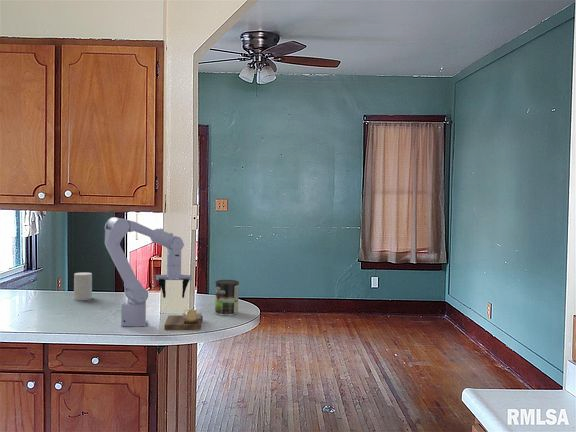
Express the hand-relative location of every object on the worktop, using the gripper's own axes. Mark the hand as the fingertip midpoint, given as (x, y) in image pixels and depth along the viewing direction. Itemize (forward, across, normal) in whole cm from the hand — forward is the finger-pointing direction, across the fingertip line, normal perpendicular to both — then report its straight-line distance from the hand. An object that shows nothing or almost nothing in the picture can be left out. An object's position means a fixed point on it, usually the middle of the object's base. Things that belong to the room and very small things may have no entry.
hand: (173, 297), depth 256 cm
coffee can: (+10, +22, +12) cm, 27 cm away
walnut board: (+9, +5, -9) cm, 14 cm away
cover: (+7, +8, -4) cm, 11 cm away
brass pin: (+9, +8, -13) cm, 18 cm away
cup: (+10, -47, +44) cm, 65 cm away
